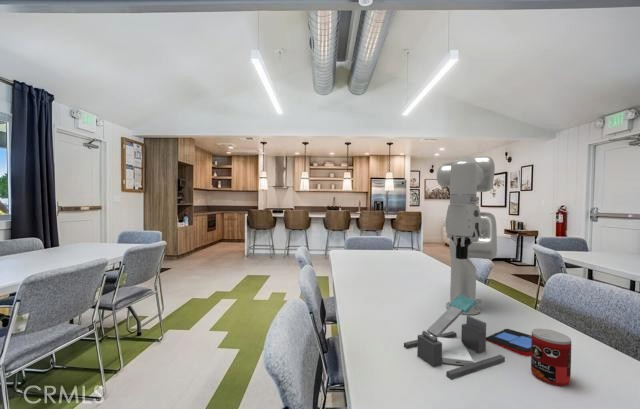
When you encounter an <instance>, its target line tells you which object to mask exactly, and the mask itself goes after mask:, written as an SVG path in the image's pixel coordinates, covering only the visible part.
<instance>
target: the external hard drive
mask: <svg viewBox="0 0 640 409" xmlns="http://www.w3.org/2000/svg"><path fill="white" fill-rule="evenodd" d="M436 338H437V337H436ZM437 340H438V341H440V342H441V343H442V363H444V364H449V365H458V366H465V365H468V364H472V363H475V361H474V359H473V358H472V356H471V354H470V353H469V351H468V348H467V347H465V346H464V344H463V343H462V341H461V339H457V338H442V337H438V338H437Z"/></svg>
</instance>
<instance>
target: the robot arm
mask: <svg viewBox="0 0 640 409" xmlns="http://www.w3.org/2000/svg"><path fill="white" fill-rule="evenodd" d="M495 165H496V164H495V161H494V159H493V158H492V157H491V156H489V155H482V156H481V155H480V156H464V157H461V158H459V159H457V160H454V161H450V162H445V163H442V164H440V165H439V167H438V168H437V171H436V182H437V184H438V186H440V187H446V188H447V187H448V188H449V205H448V206H447V210H446V216H445V217H446V218H445V233H446V238H447V239H449V241H448V246H449V247H448V248H449V253H450V291H449V292H450V293H449V294H450V295H449V302H446V304H445V307H446V308H447V310H448V309H449V308H450V305H449V304H450V303H451V302H452V301H453V300H454V299H455V298H456V297H457V296H458V295H462V296H465V297H468V298H471V299H474V300H476V302H477V303H476V304H475V305H474V306H473V307H472V308H471V309H470V310H469V311H468V312H467V313H464V312H463V313H462V314H461V315H466V316H470V315H471V316H473V315H478V314H480V308H479V307H478V306H477V305H478V304H482V303H483V299H482V298H477V295H476V292H477V289H476V288H477V268H476V265H475V264H474V263H473V261H471V259H480V260H481V259H483V260H493V259H495V258H496V256H497V254H498V239H497V238H498V236H497V231H498V230H497V221H496V217H495V214H492V213H491V212H487V211H486V212H484V211H481V208H480V206H479V205H477V202H479V201H480V197H479V196H477V192H478V193H479V192H480V193H482V192H485V193H486V192H490V191H491V190H492V188H493V187H494V186H493V185H494V179H495V170H496V168H495Z"/></svg>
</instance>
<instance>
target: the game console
mask: <svg viewBox="0 0 640 409" xmlns="http://www.w3.org/2000/svg"><path fill="white" fill-rule="evenodd" d="M531 337H532V334H527V333H523V332H520V331H517V330H513V329H509V328H504V329H503V330H500V331H498V332H495V333H492V334H491V335H489V336H486V342H488V343H491V344H492V345H495V346H498V347H501V348H503V349H505V350H508V351H510V352H512V353H515V354H517V355H519V356H524V357H531Z"/></svg>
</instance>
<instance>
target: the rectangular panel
mask: <svg viewBox="0 0 640 409" xmlns="http://www.w3.org/2000/svg"><path fill="white" fill-rule="evenodd" d="M476 303H477V302H476V300H474V299H471V298H468V297H465V296H462V295H458V296H457V297H456V298H455V299H454V300H453V301H452V302H451V303H450V304H449V305H450V308H449V309H448V308H447V310H446V311H444V312H443V314H442V315H441V316H439V318H437V319H436V320H435V321H434V322H433V323H432V325H431V326H429V327H428V328H427V329H426V330H422V332H421V334H423V335H424V336H426V337H428V338H429V339H431V340H433V341H434V342H436V341H437V338H438V337H439V336H440V335H441V334H443V333H445V331H446V330H447V329H448V328H449V327H450V326H451V325H453V323H454V322H455V321H456V320H457V319H458V318H459V317H460V316H461V315H463V314H462V313H463V312H464V313H467V312H468V311H469V310H470V309H471V308H472V307H473V306H474V305H475V304H476ZM436 337H437V338H436Z"/></svg>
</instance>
